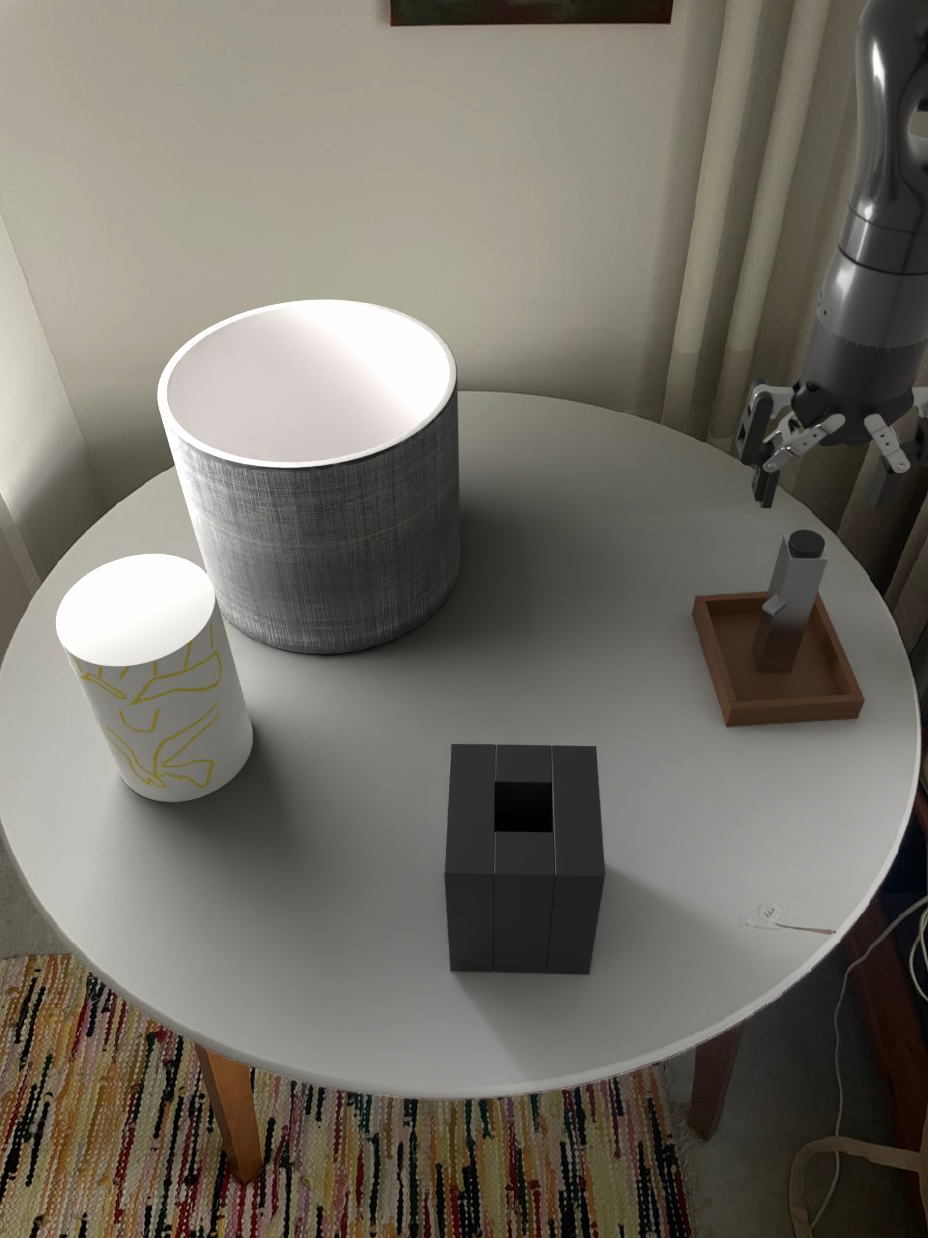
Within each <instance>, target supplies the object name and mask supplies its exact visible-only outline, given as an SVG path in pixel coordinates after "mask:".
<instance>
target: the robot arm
mask: <svg viewBox="0 0 928 1238" xmlns="http://www.w3.org/2000/svg"><path fill="white" fill-rule="evenodd" d="M854 71H855V73H854V74H855V91H856V118H857V119H856V121H857V122H856V123H857V124H856V149H855V161H854V172H853V178H852V183H851V188H850V191H849V196H848V201H847V205H846V208H845V211H844V214H843V215H844V216H843V220H842V224H841V227H840V232H839V235H838V238H837V239H838V240H837V242H836V245H835V249H834V251H833V253H832V256H831V258H830V260H829V263H828V266H827V269H826V271H825V274H824V278H823V281H822V286H821V287H820V290H818V295H817V299H816V310H815V314H814V318H813V321H812V325H811V329H810V334H809V337H808V341H807V346H806V350H805V353H804V357H803V362H802V366H801V371H800V373H799V376H798V378H797V380H796V381H795V382H793V383H792V385H791V386H774V385H773V386H772V385H770V384H769V381H768V380H767V379H765V378H763V377H758V378H756V379H754V380H753V381H752V383H751V384H750V388H749V392H748V395H747V399H746V402H745V404H744V409H743V413H742V416H741V420H740V423H739V426H738V430H737V434H736V437H735V444H736V448H737V452H738V457H739V460H740V463H741V465H744V466H752V465H755V467H754V472H753V475H752V479H751V490H752V493H753V498H754V501H755V503H756V502H758V503H759V506H760V508H761V509H772V506H773V503H774V499H775V495H776V491H777V488H778V483H779V480H780V475H781V471H780V469H781V468H782V467H784V465H786V464H787V463H788V462H789V461H791V460H792V459H794V457H796V458H800V457H802V456H803V455H804V454H806V453H807V452H808V451H809V450H810V449H812V448H813V447H814V446H815V445H817V443H818V444H819V447H832V446H838V445H846V446H850V447H864V446H865V444H866V443H869V442H871V441H874V442H875V444H876V446H877V447H878V449H879V451H880V452H881V454H882V455H879V457H878V459H877V463H876V464H875V465H876V466H875V468H874V470H873V474H872V477H871V480H870V483H869V485H868V490H867V498H868V501H869V503H870V506H871V508H872V510H884V509H885V507H886V504H890V503H891V502H892V501H893V500H894V499H895V498H896V496H897V493H898V490H899V487H900V484H901V481H902V479H903V476H904V474H905V472H907V471H909V469H910V467H913V466H917V465H921V466H922V467H925V468H926V467H928V385H926V386H916V387H915V386H914V385H915V383H916V381H917V378H918V375H919V372H920V370H921V366H922V363H923V361H924V358H925V354H926V352H927V349H928V138H926V137H922V136H918V135H915V134H912V133H910V129H911V122H912V119H913V116H914V114H915V113H928V0H868V1H867V2H866V4H865V6H864V7H863V10H862V12H861V15H860V17H859V20H858V24H857V28H856V34H855V42H854ZM913 386H914V387H913ZM789 406H790V408H791V411H790V412H788V414H786V415H785V416H784V417H783V418H782V419H781V420H780V421H779V423H778V426H777V427H776V429H775V430H773V431H772V432H771V433H770V434H769V435H767V437H765V435H766V432H767V429H768V425H769V422H770V420H772V421H773V420H775V419H777V416H778V415H779V414H780V411H781V410H782V409H783V408H785V407H789ZM913 407H915V409H916V412H917V415H918V416H917V420H916V423H915V424H916V425H915V428H914V431H913V435H912V438H911V440H909V441H905V442H901V440H900V438H899V437H898V435H897V433H896V432H895V430H894V428H893V426H892V425H894V424H895V423H896V422H897V421H898V420H899V419H901V418H902V417H903V416H904V415H906V414H907V413H908V412H910V411H911V409H912V408H913ZM802 427H803V430H802V431H801V433H800V429H801V428H802Z"/></svg>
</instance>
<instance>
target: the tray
mask: <svg viewBox="0 0 928 1238" xmlns="http://www.w3.org/2000/svg"><path fill="white" fill-rule="evenodd" d="M767 592H768V590H766V591H765V590H764V591H749V592H732V593H717V594H716V593H715V594H700V595H698V594H697V595H695V596H694V599H693V600H694V601H693V605H692V611H691V616H692V617H691V618H692V620H693V623H694V627H695V630H696V633H697V636H698V637H697V638H698V640H699V643H700V646H701V650H702V654H703V656H704V660H705V663H706V666H707V669H708V673H709V676H710V679H711V683H712V687H713V690H714V693H715V696H716V699H717V703H718V706H719V709H720V712H721V716H722V719H723V722H724V725H725V727H726V728H729V727H730V728H732V727H746V726H748V727H749V726H764V725H779V724H780V725H781V724H794V723H808V722H809V723H810V722H824V721H825V722H826V721H839V720H842V721H843V720H853V719H854V720H855V719H859V717H860V714H861V712H862V710H863V707H864V705H865V702H866V698H865V697H864V694H863V692H862V688H861V686H860V685H859V684H860V683H859V682H858V680H857V678H856V675H855V673H854V670H853V668H852V666H851V664H850V661H849V659H848V656H847V654H846V651H845V650H844V647H843V645H842V642H841V640H840V637H839V636H838V633H837V631H836V629H835V626H834V624H833V622H832V619H831V617H830V614H829V613H828V610H827V608H826V605H825V603H824V601H823V598H822V596H821V594H820V592H819V590H818V592H817V595H816V598H815V601H814V604H813V607H812V610H811V613H810V616H809V619H808V622H807V625H806V628H805V631H804V634H803V637H802V641H801V644H800V647H799V650H798V653H797V656H796V659H795V662H794V665H793V668H792V671H791V673H769V672H757V668H756V663H755V659H754V654H753V649H752V646H753V643H754V639H755V636H756V632H757V628H758V625H759V621H760V618H761V614H762V606H763V605H764V603H765V600H766V596H767Z"/></svg>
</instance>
